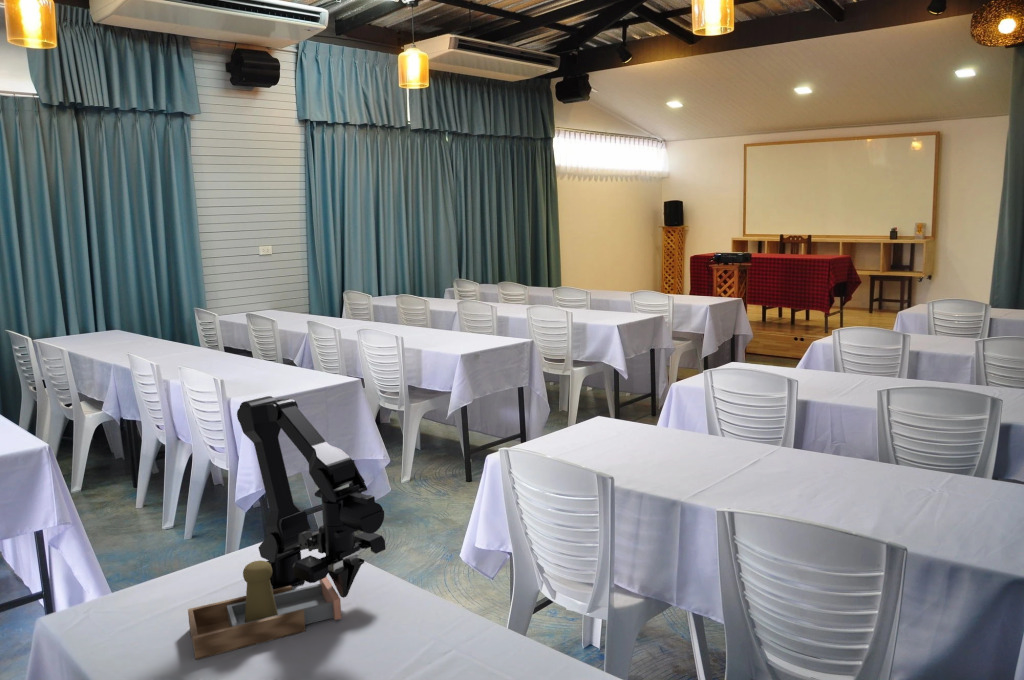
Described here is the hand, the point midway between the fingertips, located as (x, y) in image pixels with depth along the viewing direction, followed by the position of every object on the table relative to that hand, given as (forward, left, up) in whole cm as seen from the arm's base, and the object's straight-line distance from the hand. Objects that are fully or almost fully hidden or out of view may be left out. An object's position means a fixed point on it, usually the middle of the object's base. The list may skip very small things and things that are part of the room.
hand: (343, 596), depth 154 cm
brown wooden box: (+18, 0, -2) cm, 18 cm away
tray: (+12, 0, -1) cm, 12 cm away
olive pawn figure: (+16, 0, -1) cm, 16 cm away
